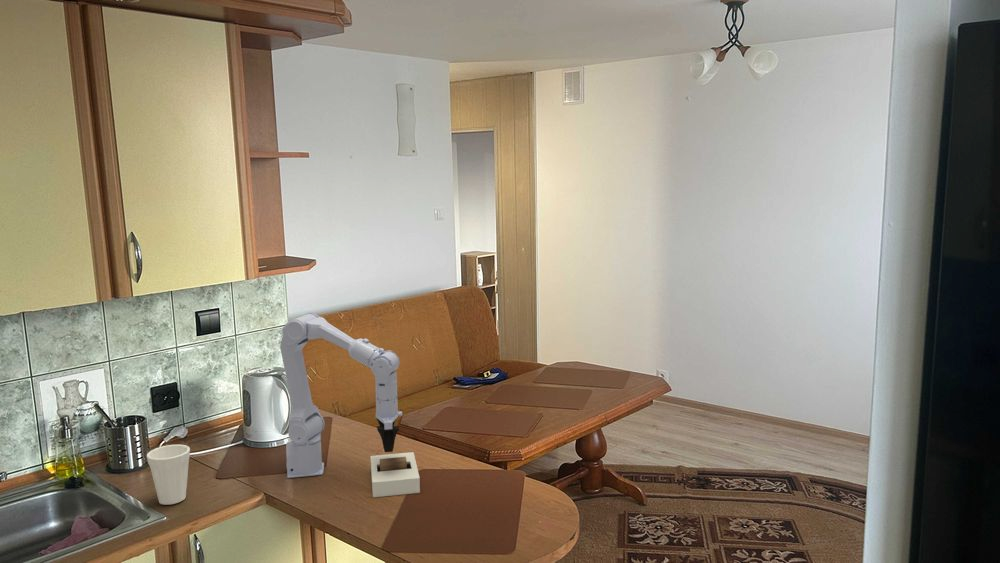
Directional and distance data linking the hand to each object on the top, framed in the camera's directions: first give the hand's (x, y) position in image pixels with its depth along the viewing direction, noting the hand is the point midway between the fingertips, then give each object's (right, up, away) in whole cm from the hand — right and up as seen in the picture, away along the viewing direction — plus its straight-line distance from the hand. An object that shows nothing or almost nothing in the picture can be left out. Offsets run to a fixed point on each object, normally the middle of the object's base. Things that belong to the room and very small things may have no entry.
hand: (388, 446), depth 189 cm
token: (+1, -9, 0) cm, 10 cm away
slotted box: (+2, -9, 0) cm, 9 cm away
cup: (-53, -12, -10) cm, 55 cm away
